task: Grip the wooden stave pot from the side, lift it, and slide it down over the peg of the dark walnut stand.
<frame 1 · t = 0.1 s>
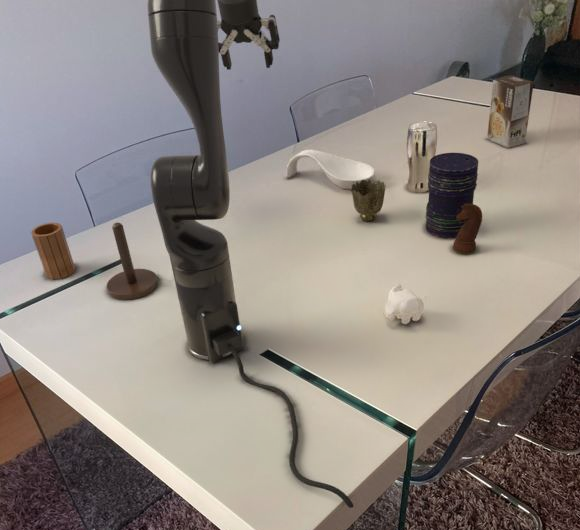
hand: (249, 66, 136), 31 cm above the table, tool tilted 20°, fingers open, 8 cm apart
cup: (368, 219, 145), on the table
peg stand: (133, 286, 129), on the table
wooden stave pot: (60, 271, 136), on the table
coffee box: (505, 141, 176), on the table
beer glass: (419, 188, 156), on the table
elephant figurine: (404, 320, 113), on the table
chess piece: (465, 250, 131), on the table
storage jar: (448, 229, 139), on the table
spoon rest: (329, 182, 163), on the table
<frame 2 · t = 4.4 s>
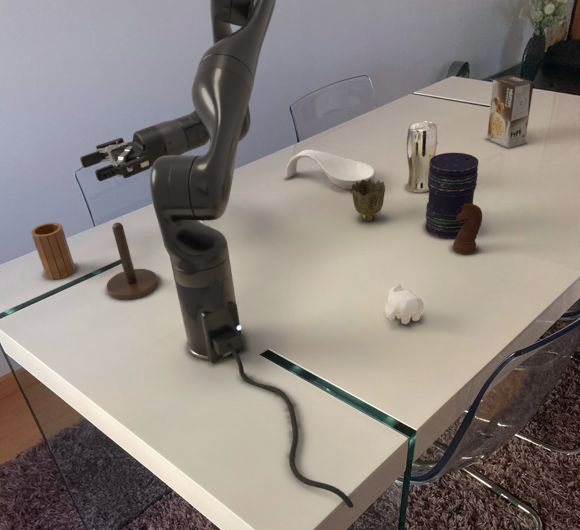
hand: (89, 169, 128), 19 cm above the table, tool horizontal, fingers open, 8 cm apart
nothing on the table moved.
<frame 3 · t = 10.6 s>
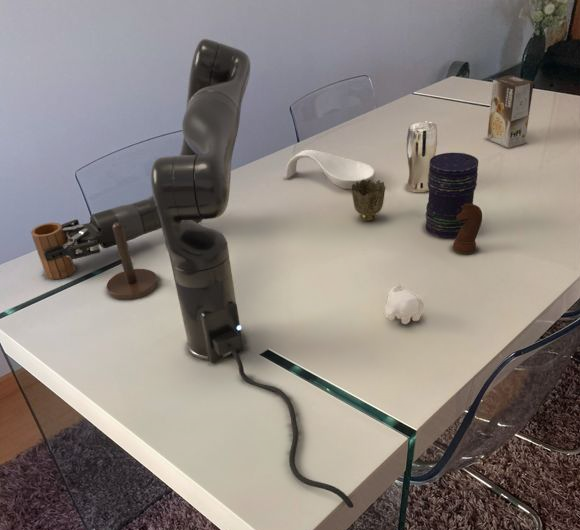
hand: (40, 250, 131), 6 cm above the table, tool horizontal, fingers closed on wooden stave pot, 6 cm apart
wooden stave pot: (60, 271, 136), on the table, touching gripper
everything else where it was.
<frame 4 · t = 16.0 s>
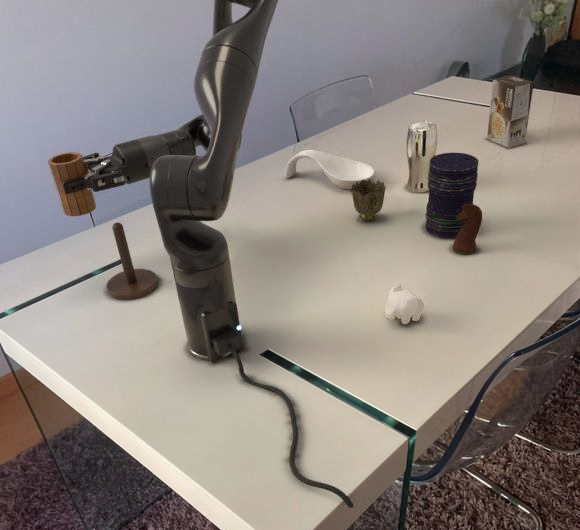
hand: (58, 183, 117), 22 cm above the table, tool horizontal, fingers closed on wooden stave pot, 6 cm apart
wooden stave pot: (80, 209, 122), point 16 cm above the table, touching gripper
everything else where it was.
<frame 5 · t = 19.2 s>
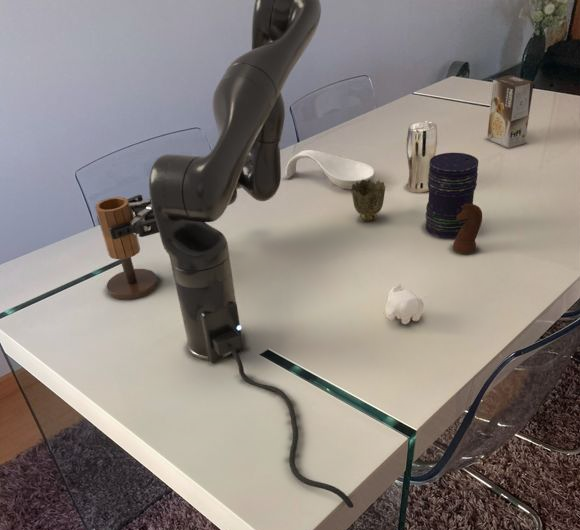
hand: (105, 227, 119), 14 cm above the table, tool horizontal, fingers closed on wooden stave pot, 6 cm apart
wooden stave pot: (124, 251, 124), point 8 cm above the table, touching gripper
everything else where it was.
when the fingers open (7 cm above the table, at t = 21.6 s): wooden stave pot stays where it is, resting on peg stand.
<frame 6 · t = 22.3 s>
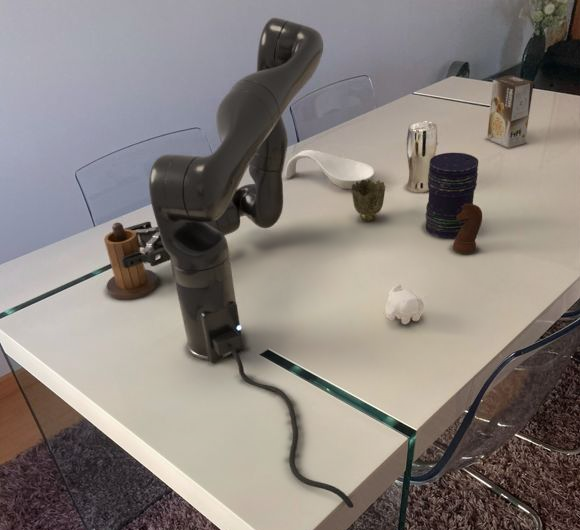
hand: (114, 254, 123), 8 cm above the table, tool horizontal, fingers open, 8 cm apart
wooden stave pot: (131, 281, 128), point 1 cm above the table, touching peg stand
everything else where it was.
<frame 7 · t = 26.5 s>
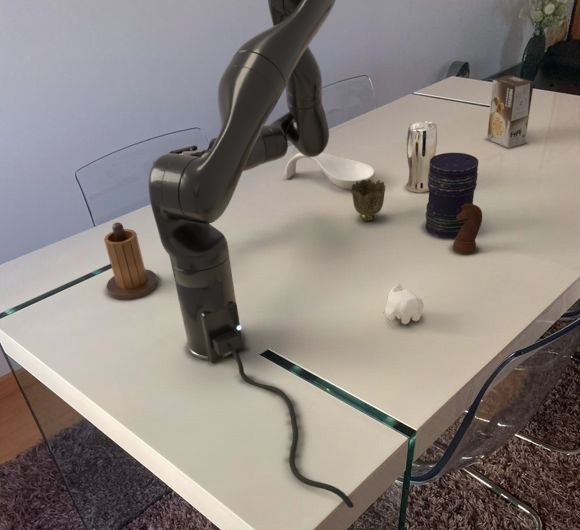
hand: (163, 174, 121), 20 cm above the table, tool horizontal, fingers open, 8 cm apart
nothing on the table moved.
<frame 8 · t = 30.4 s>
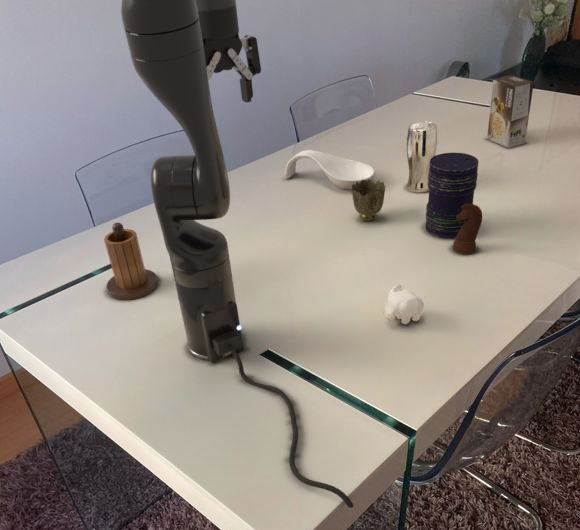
hand: (226, 106, 113), 32 cm above the table, tool pointing down, fingers open, 8 cm apart
nothing on the table moved.
at the end: wooden stave pot 0.1 cm off-centre on the peg stand, point 1.2 cm above the peg stand's base; wooden stave pot tilted 0°; the gripper is holding nothing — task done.
